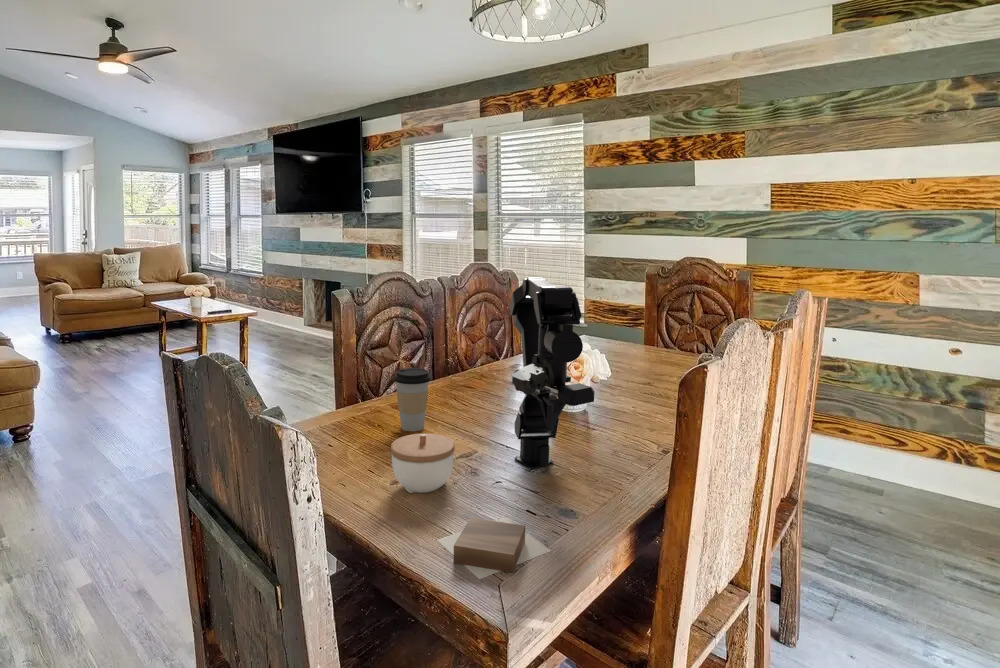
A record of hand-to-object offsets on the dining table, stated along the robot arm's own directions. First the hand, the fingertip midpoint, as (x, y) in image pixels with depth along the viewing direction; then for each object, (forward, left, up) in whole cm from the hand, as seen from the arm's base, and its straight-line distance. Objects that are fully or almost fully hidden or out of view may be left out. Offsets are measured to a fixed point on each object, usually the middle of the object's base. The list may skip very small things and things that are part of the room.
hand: (549, 427), depth 116 cm
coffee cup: (-46, -7, -13) cm, 48 cm away
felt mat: (+12, -22, -13) cm, 28 cm away
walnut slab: (+11, -20, -11) cm, 25 cm away
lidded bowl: (-14, -21, -13) cm, 28 cm away
